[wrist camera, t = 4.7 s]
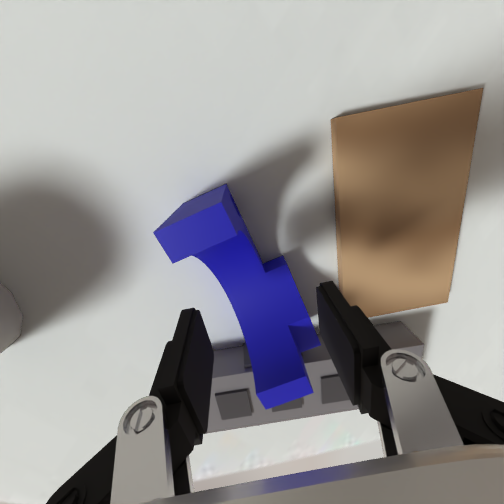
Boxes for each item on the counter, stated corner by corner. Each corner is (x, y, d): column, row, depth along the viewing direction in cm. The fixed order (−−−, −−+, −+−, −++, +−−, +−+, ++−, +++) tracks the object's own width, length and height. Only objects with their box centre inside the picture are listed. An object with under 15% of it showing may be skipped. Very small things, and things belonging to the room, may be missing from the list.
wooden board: (330, 119, 14) (336, 117, 13) (470, 91, 14) (483, 87, 13) (340, 315, 19) (344, 322, 18) (439, 296, 19) (447, 302, 18)
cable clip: (308, 317, 19) (338, 383, 14) (257, 337, 20) (265, 409, 14) (248, 173, 15) (256, 185, 9) (183, 203, 15) (152, 232, 10)
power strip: (202, 399, 22) (196, 442, 19) (186, 348, 20) (176, 388, 17) (392, 369, 22) (419, 407, 19) (398, 315, 20) (431, 347, 17)
